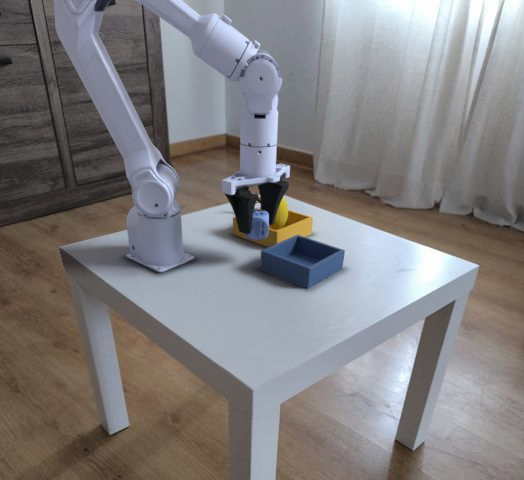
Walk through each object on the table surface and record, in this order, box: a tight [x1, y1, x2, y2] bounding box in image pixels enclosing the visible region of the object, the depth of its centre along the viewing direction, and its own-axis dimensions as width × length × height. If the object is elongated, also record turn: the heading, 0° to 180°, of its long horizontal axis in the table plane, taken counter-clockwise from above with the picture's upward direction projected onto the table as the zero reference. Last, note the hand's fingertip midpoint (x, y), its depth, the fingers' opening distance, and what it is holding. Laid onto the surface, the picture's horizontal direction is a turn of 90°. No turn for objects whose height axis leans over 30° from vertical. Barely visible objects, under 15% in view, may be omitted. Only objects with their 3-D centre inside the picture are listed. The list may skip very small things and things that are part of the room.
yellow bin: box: [232, 207, 314, 248], centre depth 97 cm, size 11×11×4 cm
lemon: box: [259, 196, 289, 230], centre depth 95 cm, size 6×6×8 cm
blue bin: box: [260, 235, 346, 289], centre depth 84 cm, size 10×10×4 cm
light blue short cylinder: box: [245, 208, 269, 240], centre depth 83 cm, size 4×4×4 cm
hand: (256, 227), depth 83 cm, fingers closed on light blue short cylinder, 5 cm apart
